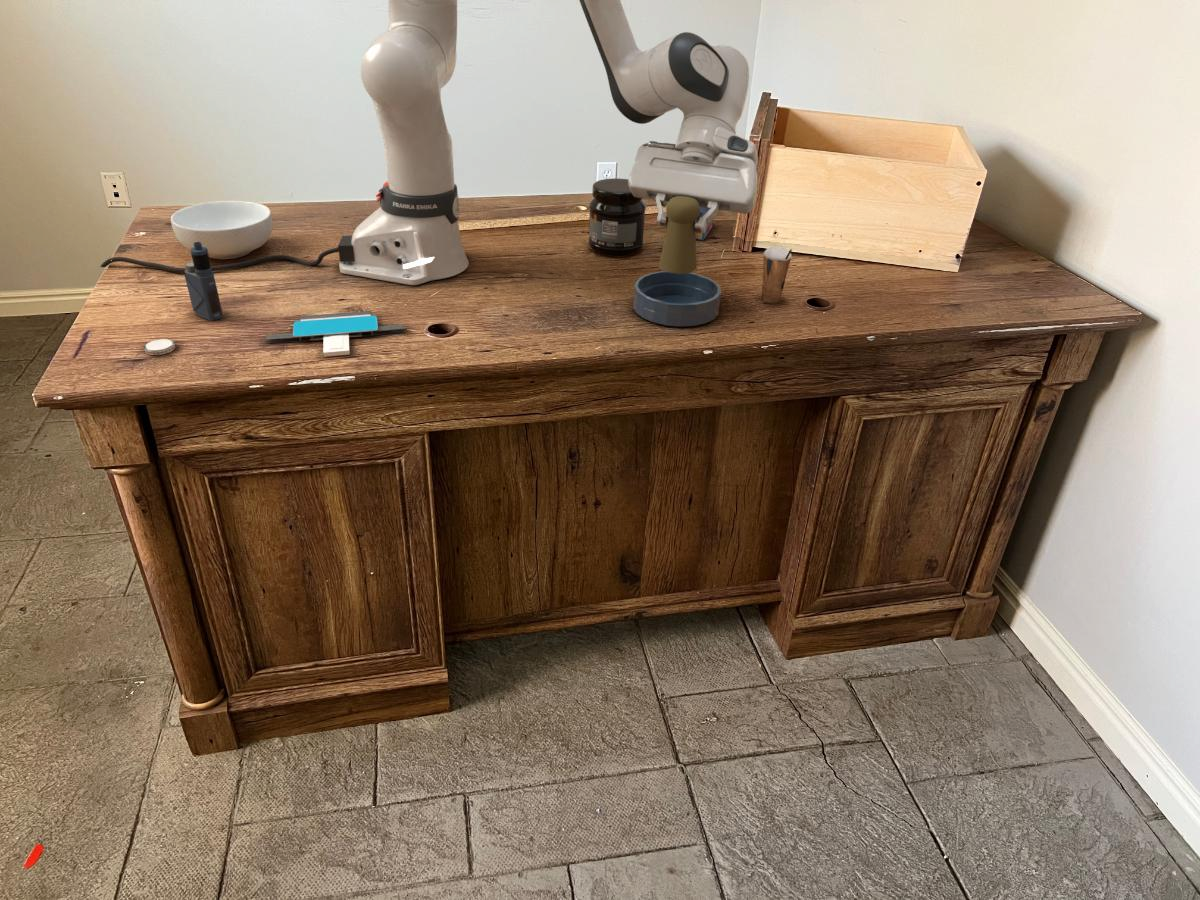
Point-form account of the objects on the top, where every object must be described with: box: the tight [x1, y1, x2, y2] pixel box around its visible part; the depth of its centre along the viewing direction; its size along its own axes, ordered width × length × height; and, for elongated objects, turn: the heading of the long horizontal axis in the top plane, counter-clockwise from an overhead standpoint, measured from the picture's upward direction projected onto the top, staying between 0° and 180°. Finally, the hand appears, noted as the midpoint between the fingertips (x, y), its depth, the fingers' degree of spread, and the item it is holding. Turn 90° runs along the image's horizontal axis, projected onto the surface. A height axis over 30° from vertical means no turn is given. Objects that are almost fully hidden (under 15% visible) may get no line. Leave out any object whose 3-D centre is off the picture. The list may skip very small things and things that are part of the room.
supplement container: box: [588, 177, 647, 258], centre depth 161 cm, size 10×10×12 cm
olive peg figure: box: [658, 196, 700, 274], centre depth 134 cm, size 6×6×11 cm
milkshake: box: [761, 245, 793, 304], centre depth 143 cm, size 5×5×10 cm
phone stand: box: [265, 310, 405, 358], centre depth 128 cm, size 20×12×2 cm, turn 105°
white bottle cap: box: [143, 338, 176, 356], centre depth 124 cm, size 4×4×1 cm
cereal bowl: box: [170, 200, 273, 260], centre depth 154 cm, size 17×17×7 cm
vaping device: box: [184, 242, 224, 322], centre depth 130 cm, size 3×5×12 cm, turn 58°
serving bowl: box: [632, 270, 722, 328], centre depth 140 cm, size 14×14×4 cm
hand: (680, 227), depth 133 cm, fingers closed on olive peg figure, 5 cm apart
